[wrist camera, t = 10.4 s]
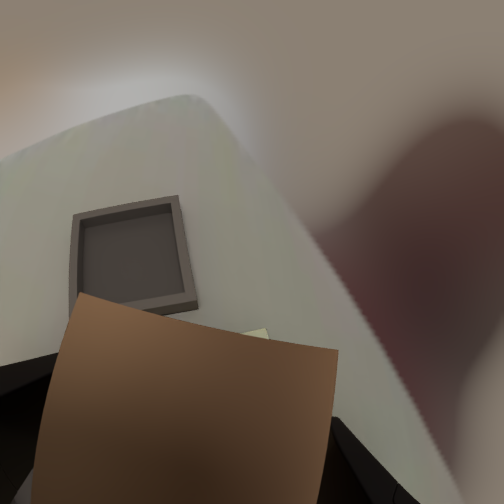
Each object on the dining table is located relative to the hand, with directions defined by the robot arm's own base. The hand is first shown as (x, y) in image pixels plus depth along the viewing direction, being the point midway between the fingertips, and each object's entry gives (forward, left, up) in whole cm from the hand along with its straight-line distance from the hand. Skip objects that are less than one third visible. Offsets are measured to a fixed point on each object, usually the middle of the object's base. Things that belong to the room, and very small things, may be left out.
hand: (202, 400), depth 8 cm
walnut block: (-1, -1, -8) cm, 8 cm away
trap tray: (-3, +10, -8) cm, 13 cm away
